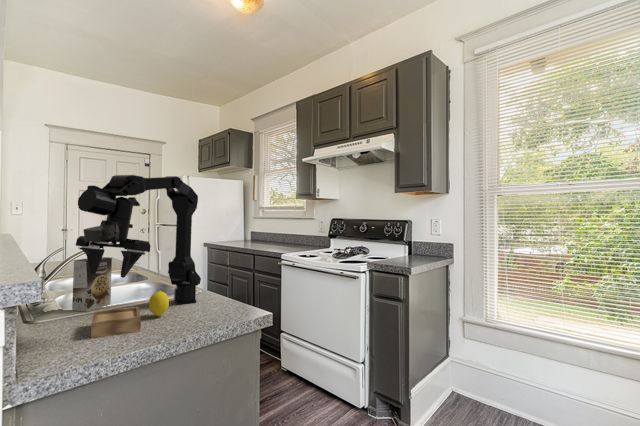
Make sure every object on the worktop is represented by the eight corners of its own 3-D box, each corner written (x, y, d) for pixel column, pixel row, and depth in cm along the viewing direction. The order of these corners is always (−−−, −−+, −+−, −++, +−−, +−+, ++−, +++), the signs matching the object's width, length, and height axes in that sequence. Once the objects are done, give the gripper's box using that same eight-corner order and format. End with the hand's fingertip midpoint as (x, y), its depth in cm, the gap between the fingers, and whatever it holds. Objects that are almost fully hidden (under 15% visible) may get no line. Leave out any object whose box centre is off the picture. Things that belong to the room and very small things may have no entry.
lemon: (156, 313, 106) (157, 287, 106) (172, 314, 105) (173, 289, 105) (144, 318, 100) (145, 291, 100) (160, 320, 99) (161, 293, 99)
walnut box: (138, 321, 99) (138, 306, 99) (140, 332, 90) (140, 316, 90) (93, 326, 93) (94, 311, 93) (91, 340, 84) (91, 323, 84)
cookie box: (88, 312, 105) (89, 261, 105) (71, 310, 106) (72, 259, 106) (111, 304, 114) (112, 257, 114) (95, 303, 115) (96, 256, 115)
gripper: (63, 211, 86) (49, 272, 83) (127, 214, 83) (115, 278, 80) (98, 219, 97) (87, 273, 94) (156, 222, 93) (146, 279, 91)
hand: (107, 276), depth 89 cm, fingers open, 9 cm apart
